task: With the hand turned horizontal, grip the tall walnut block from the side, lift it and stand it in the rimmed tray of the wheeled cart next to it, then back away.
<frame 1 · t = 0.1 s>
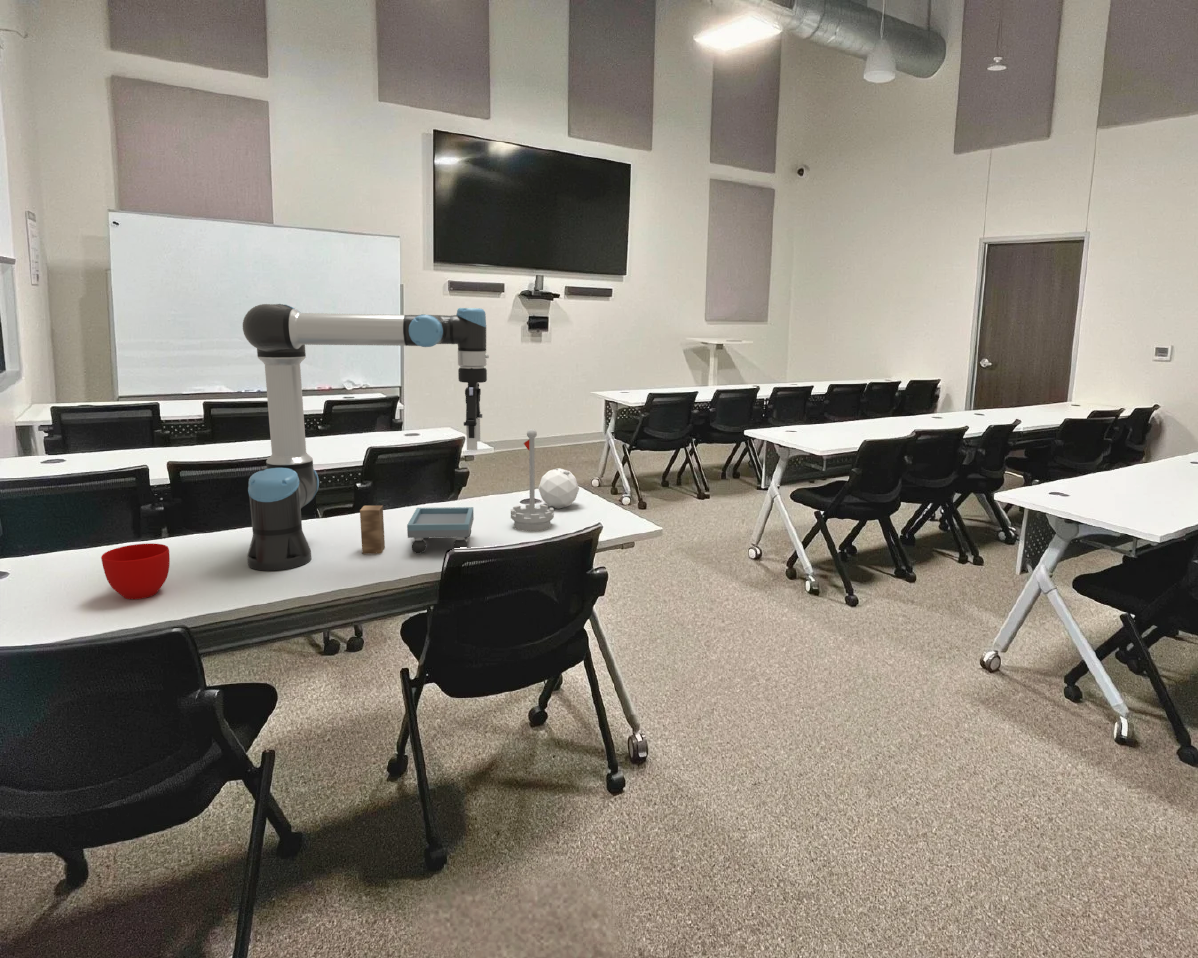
hand: (473, 445, 204), 28 cm above the table, fingers open, 13 cm apart
walnut block: (373, 550, 202), on the table
red bowl: (138, 592, 170), on the table
wheeled cart: (442, 530, 207), point 4 cm above the table, slide at 0.0 cm
flag stand: (532, 526, 228), on the table
geodesic sphere: (558, 507, 251), on the table
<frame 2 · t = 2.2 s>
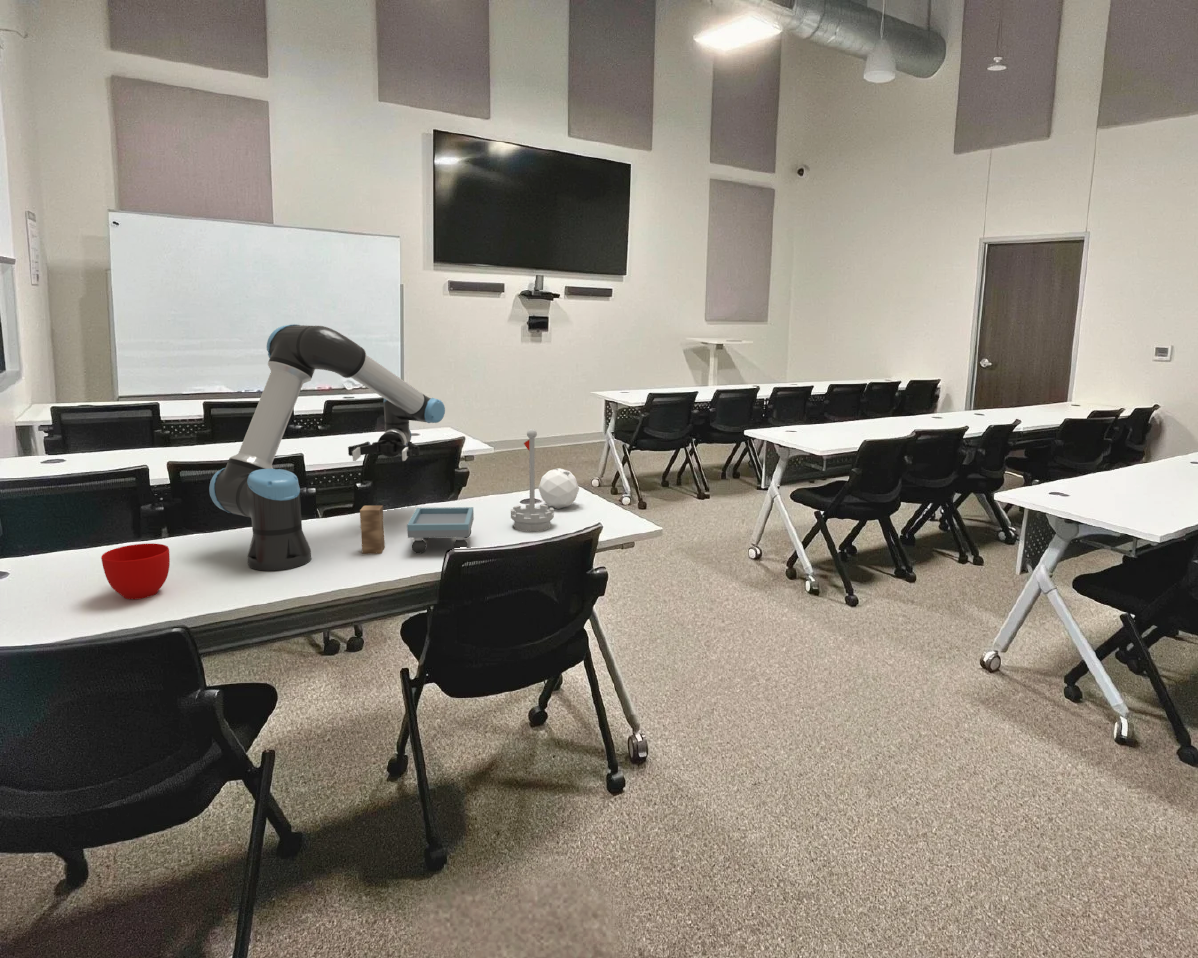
hand: (378, 456, 209), 24 cm above the table, fingers open, 13 cm apart
nothing on the table moved.
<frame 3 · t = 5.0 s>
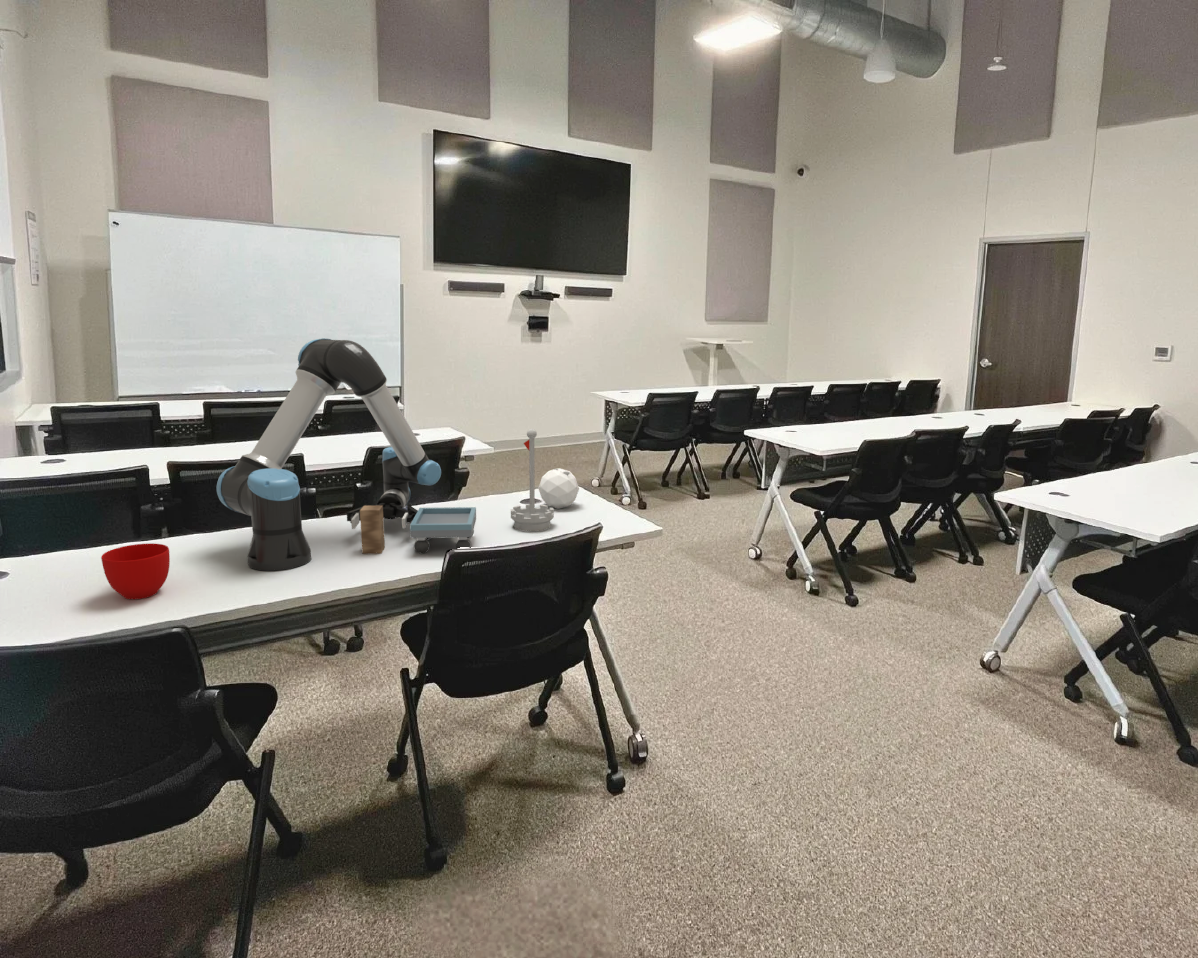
hand: (378, 523, 205), 6 cm above the table, fingers open, 13 cm apart
wheeled cart: (444, 530, 207), point 4 cm above the table, slide at 0.7 cm
everything else where it was.
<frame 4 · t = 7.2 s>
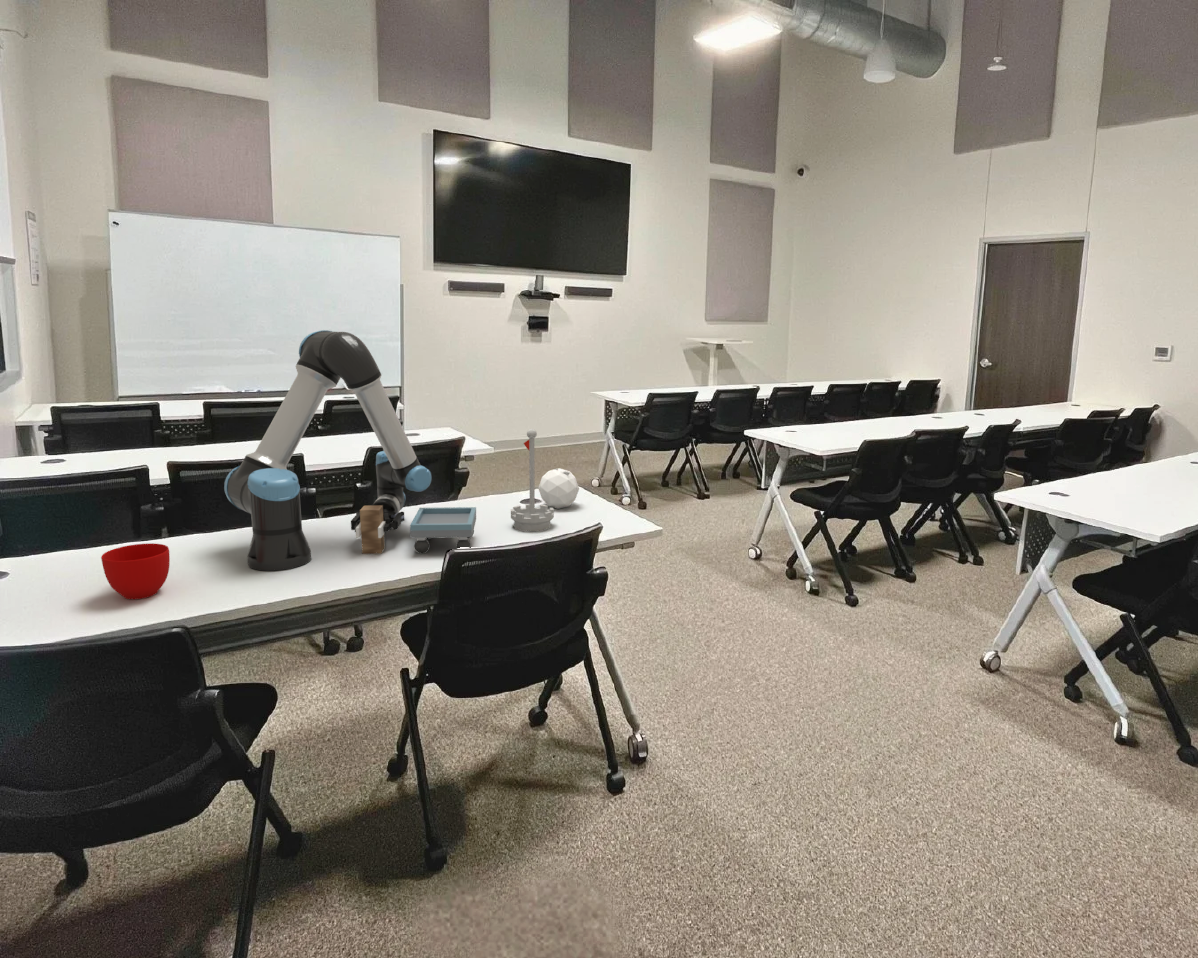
hand: (368, 533, 196), 7 cm above the table, fingers closed on walnut block, 5 cm apart
walnut block: (373, 550, 202), on the table, touching gripper
everything else where it was.
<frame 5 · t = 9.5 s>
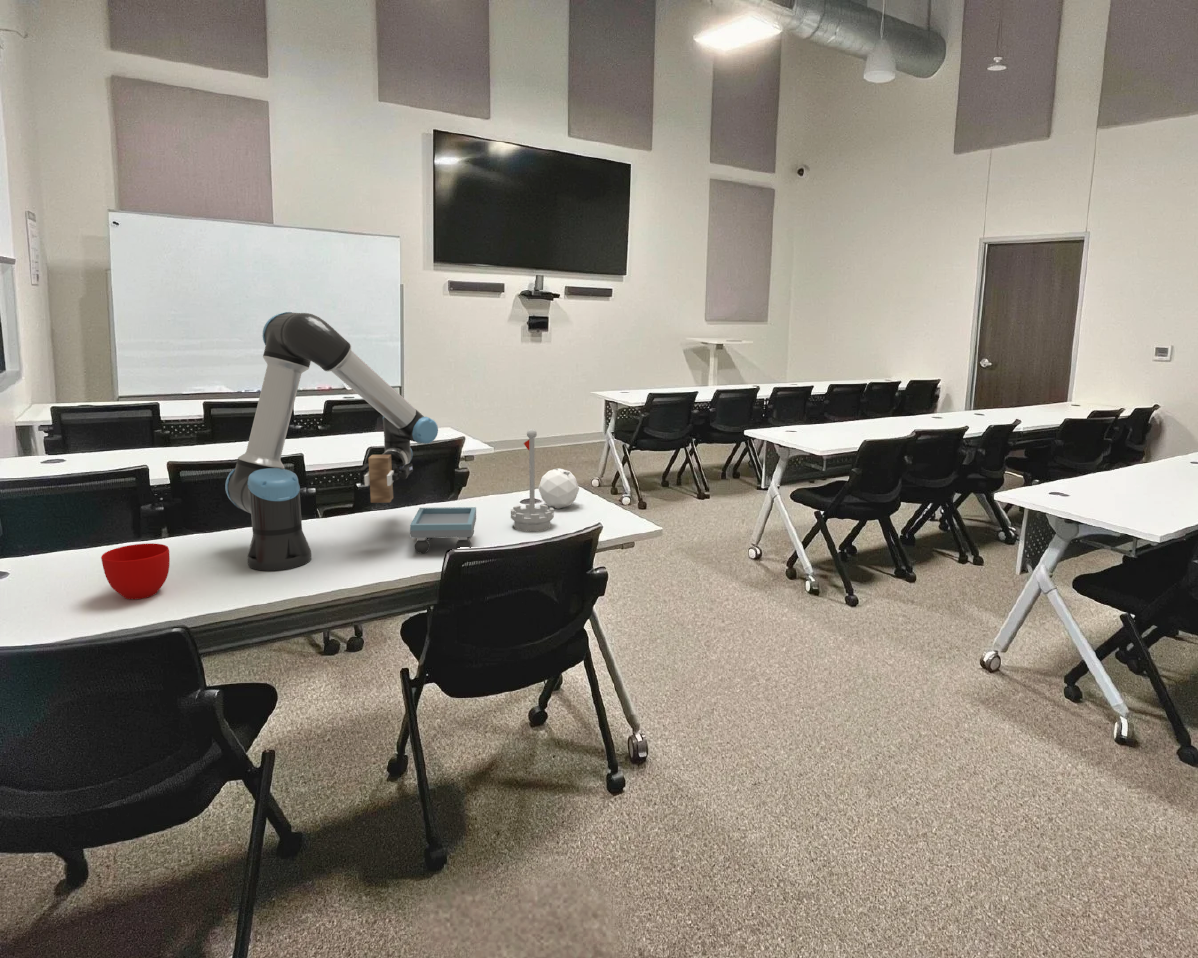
hand: (377, 480, 194), 20 cm above the table, fingers closed on walnut block, 5 cm apart
walnut block: (382, 500, 200), point 14 cm above the table, touching gripper
everything else where it was.
when the fingers open (15 cm above the table, at t = 12.1 s): walnut block drops 1 cm, resting on wheeled cart.
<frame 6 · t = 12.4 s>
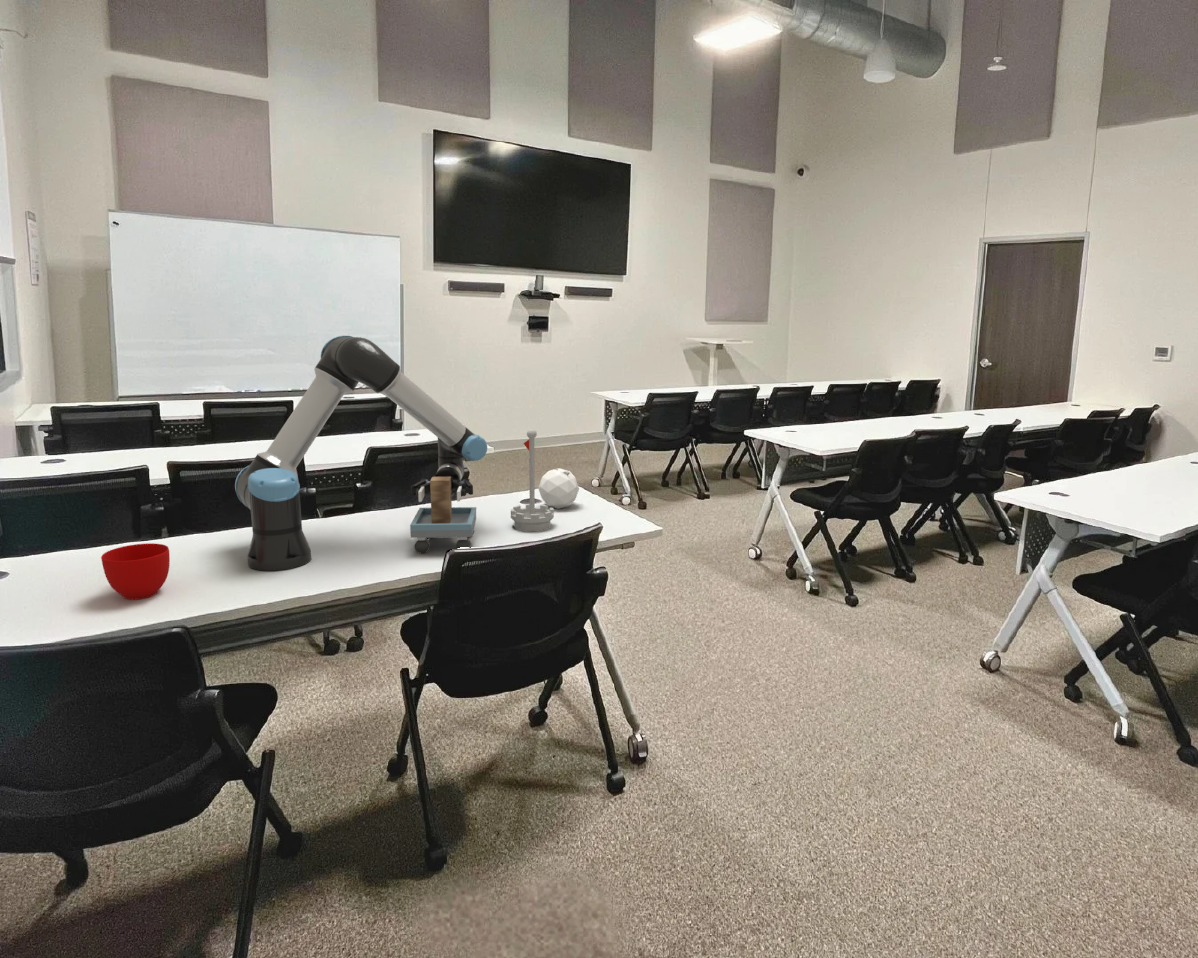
hand: (439, 496, 200), 15 cm above the table, fingers open, 9 cm apart
walnut block: (441, 520, 206), point 7 cm above the table, touching wheeled cart
wheeled cart: (445, 530, 207), point 4 cm above the table, slide at 0.8 cm, touching walnut block
everything else where it was.
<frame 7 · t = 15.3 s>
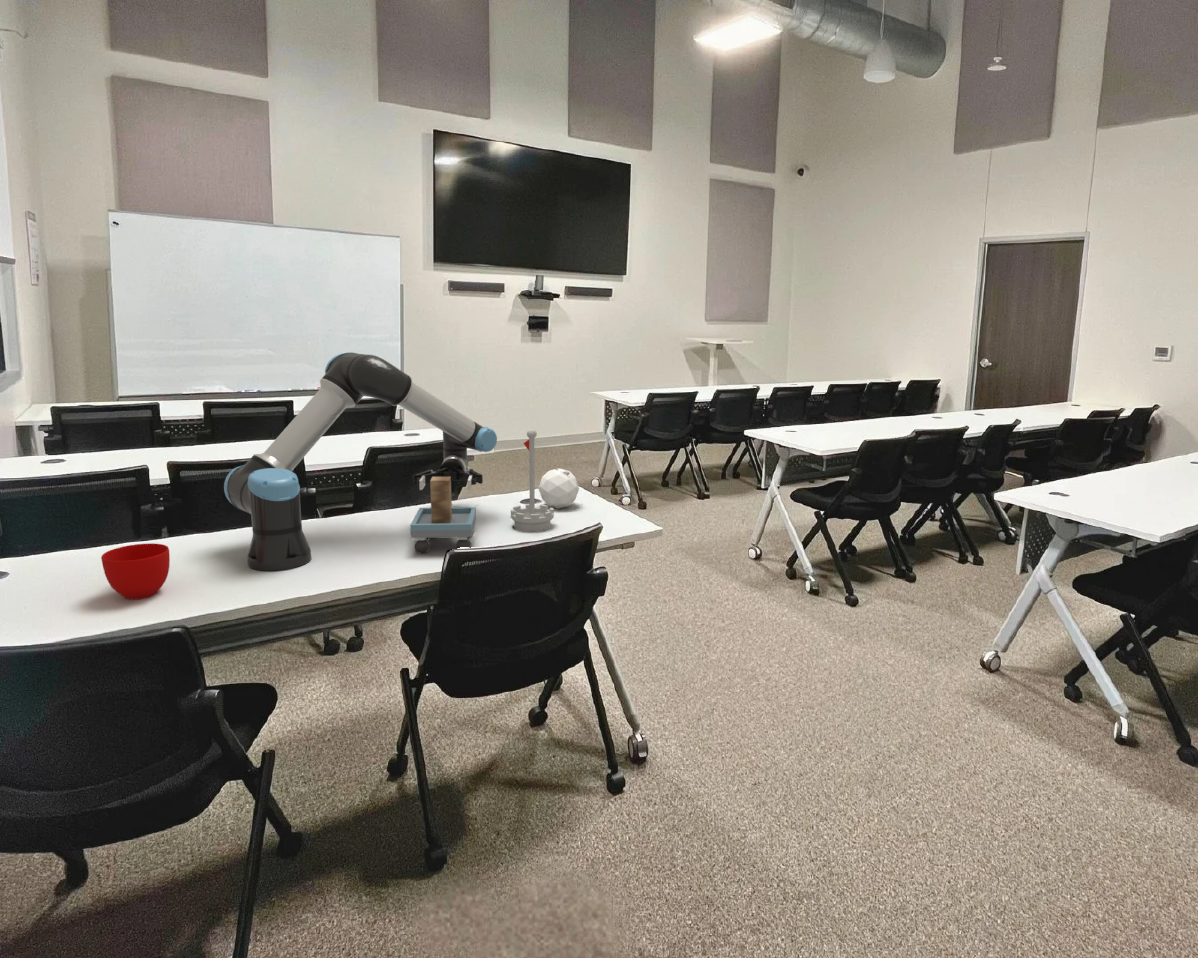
hand: (445, 485, 213), 15 cm above the table, fingers open, 13 cm apart
nothing on the table moved.
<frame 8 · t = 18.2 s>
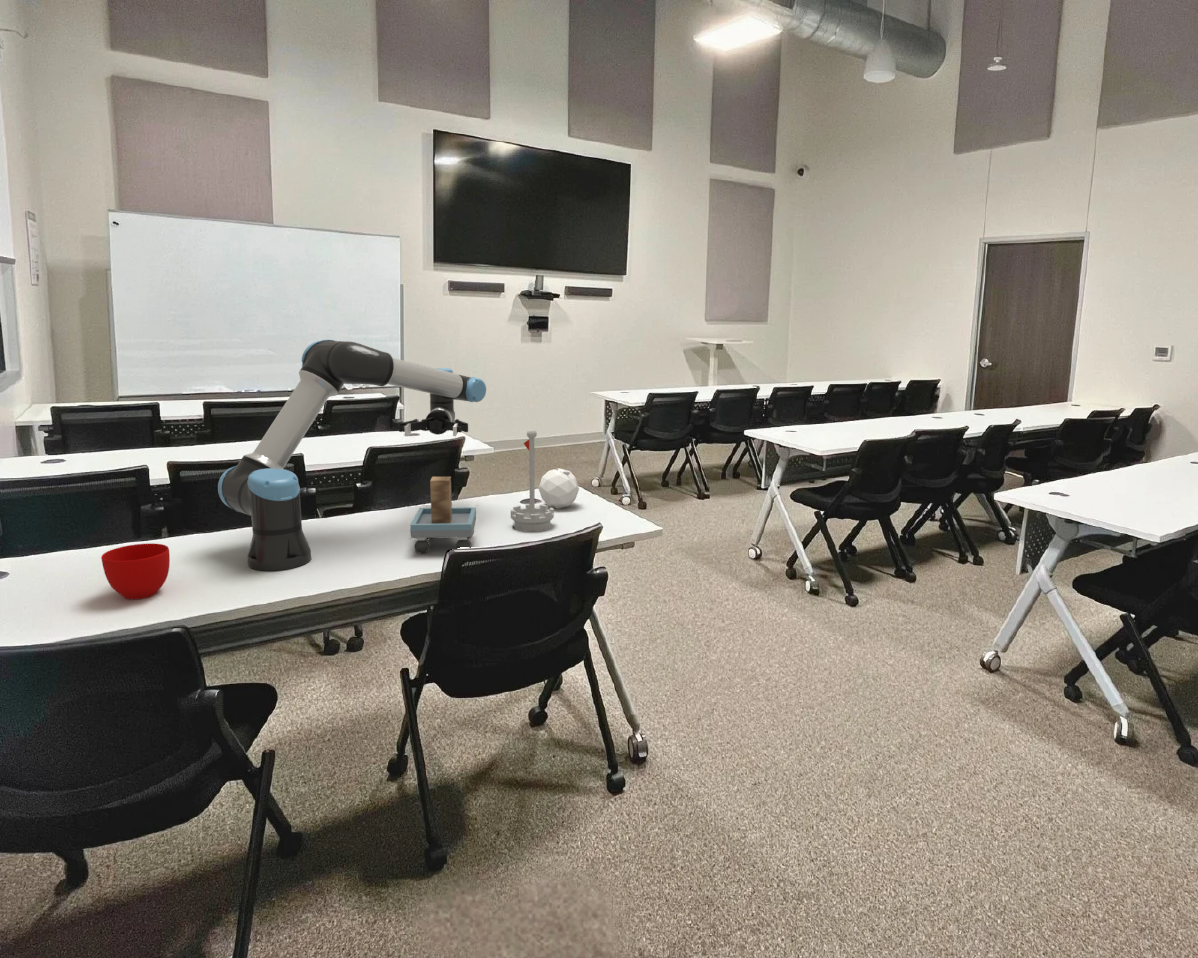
hand: (430, 431, 213), 30 cm above the table, fingers open, 13 cm apart
nothing on the table moved.
at the end: walnut block inside the target area on the wheeled cart (0.8 cm from its centre), point 7.0 cm above the wheeled cart's base; walnut block tilted 0°; the gripper is holding nothing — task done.
